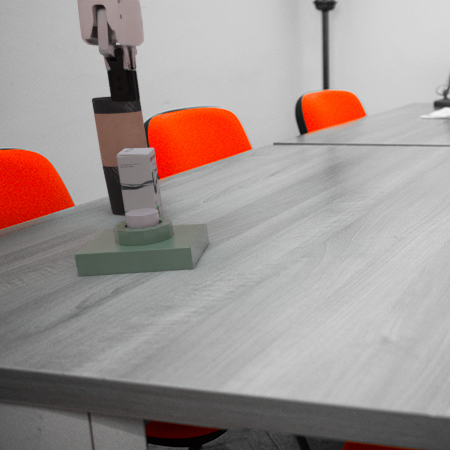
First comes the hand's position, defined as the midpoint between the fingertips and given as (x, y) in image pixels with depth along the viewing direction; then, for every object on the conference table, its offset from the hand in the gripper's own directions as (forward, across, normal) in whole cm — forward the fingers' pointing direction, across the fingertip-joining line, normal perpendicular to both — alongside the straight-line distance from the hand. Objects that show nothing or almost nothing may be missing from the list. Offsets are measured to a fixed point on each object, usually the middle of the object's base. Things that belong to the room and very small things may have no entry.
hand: (126, 100), depth 77 cm
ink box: (+21, -16, -5) cm, 27 cm away
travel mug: (+21, -23, -9) cm, 32 cm away
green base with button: (+21, +5, +2) cm, 21 cm away
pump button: (+16, +5, +2) cm, 17 cm away
